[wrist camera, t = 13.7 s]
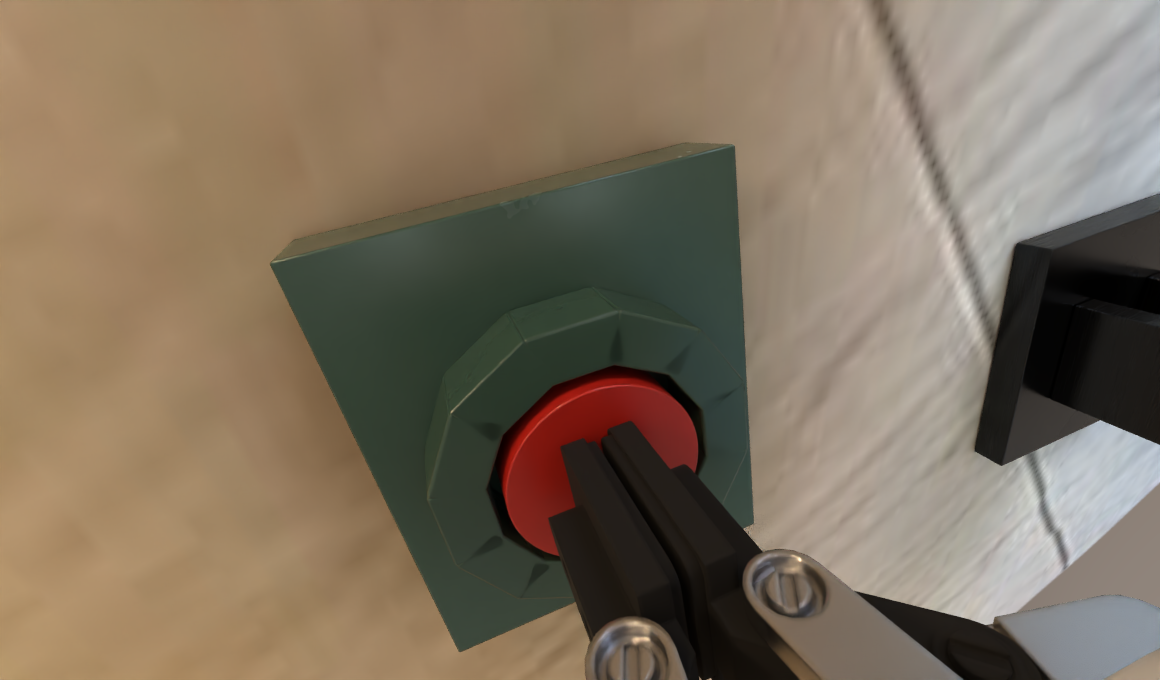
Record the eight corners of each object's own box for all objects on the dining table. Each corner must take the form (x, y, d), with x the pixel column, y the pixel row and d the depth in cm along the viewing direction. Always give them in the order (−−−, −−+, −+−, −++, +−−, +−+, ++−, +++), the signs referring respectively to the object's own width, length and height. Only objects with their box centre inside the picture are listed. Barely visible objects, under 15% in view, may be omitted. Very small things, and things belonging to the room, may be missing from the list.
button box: (291, 240, 11) (239, 289, 8) (687, 142, 13) (790, 145, 10) (452, 592, 16) (465, 718, 13) (717, 483, 18) (792, 565, 15)
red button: (469, 388, 11) (478, 429, 10) (653, 328, 12) (689, 356, 11) (518, 533, 13) (533, 587, 12) (673, 472, 14) (706, 514, 13)
